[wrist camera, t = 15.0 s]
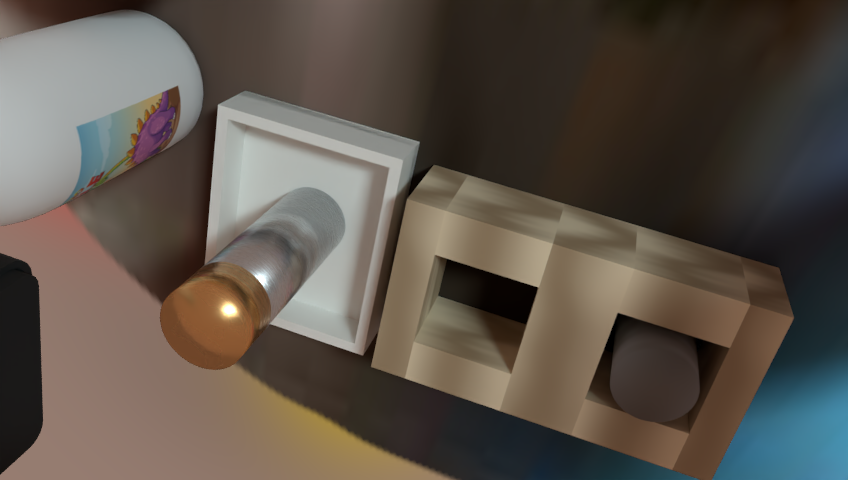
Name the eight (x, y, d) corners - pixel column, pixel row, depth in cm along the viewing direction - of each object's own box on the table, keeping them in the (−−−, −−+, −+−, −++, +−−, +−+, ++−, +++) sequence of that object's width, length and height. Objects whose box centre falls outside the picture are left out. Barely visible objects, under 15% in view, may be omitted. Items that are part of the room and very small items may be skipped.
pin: (350, 199, 43) (250, 305, 32) (339, 262, 45) (240, 381, 34) (283, 178, 43) (162, 275, 33) (274, 240, 45) (157, 352, 35)
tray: (419, 142, 41) (403, 160, 38) (379, 328, 47) (362, 355, 44) (245, 90, 43) (218, 104, 40) (226, 277, 48) (201, 300, 45)
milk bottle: (61, 41, 44) (-330, 149, 27) (161, -17, 41) (-205, 62, 24) (132, 163, 47) (-187, 337, 29) (233, 116, 43) (-56, 279, 26)
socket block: (779, 267, 39) (797, 329, 34) (705, 421, 43) (711, 496, 38) (433, 164, 41) (400, 206, 36) (398, 319, 46) (364, 377, 41)
